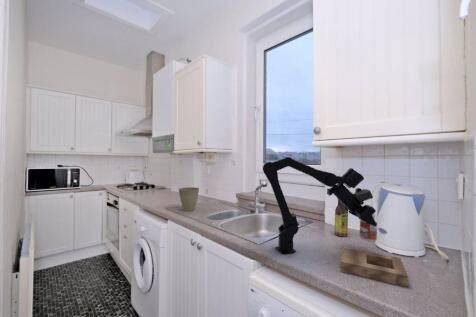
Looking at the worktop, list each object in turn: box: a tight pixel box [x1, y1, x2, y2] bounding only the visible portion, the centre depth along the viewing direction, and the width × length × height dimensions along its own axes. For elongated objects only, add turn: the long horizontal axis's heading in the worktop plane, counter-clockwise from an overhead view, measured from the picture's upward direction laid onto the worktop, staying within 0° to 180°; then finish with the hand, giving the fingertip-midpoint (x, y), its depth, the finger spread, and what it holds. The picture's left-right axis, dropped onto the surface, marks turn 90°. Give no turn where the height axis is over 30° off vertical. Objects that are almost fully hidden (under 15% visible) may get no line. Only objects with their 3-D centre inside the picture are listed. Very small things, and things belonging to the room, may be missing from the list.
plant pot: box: [178, 186, 200, 212], centre depth 164 cm, size 15×15×16 cm
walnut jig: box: [340, 246, 409, 288], centre depth 79 cm, size 19×14×4 cm
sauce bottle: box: [333, 198, 349, 237], centre depth 114 cm, size 7×6×20 cm
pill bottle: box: [359, 212, 378, 242], centre depth 92 cm, size 6×6×11 cm
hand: (371, 223), depth 91 cm, fingers closed on pill bottle, 6 cm apart
